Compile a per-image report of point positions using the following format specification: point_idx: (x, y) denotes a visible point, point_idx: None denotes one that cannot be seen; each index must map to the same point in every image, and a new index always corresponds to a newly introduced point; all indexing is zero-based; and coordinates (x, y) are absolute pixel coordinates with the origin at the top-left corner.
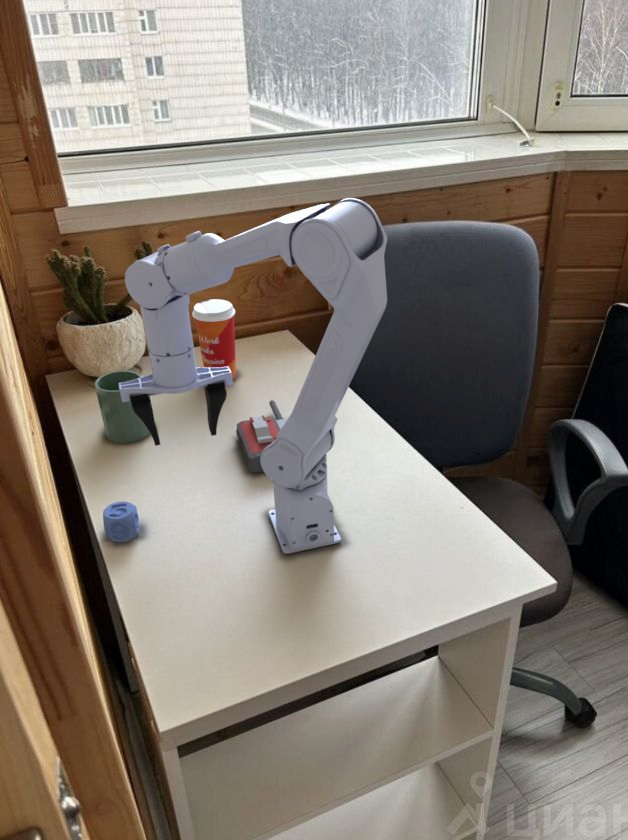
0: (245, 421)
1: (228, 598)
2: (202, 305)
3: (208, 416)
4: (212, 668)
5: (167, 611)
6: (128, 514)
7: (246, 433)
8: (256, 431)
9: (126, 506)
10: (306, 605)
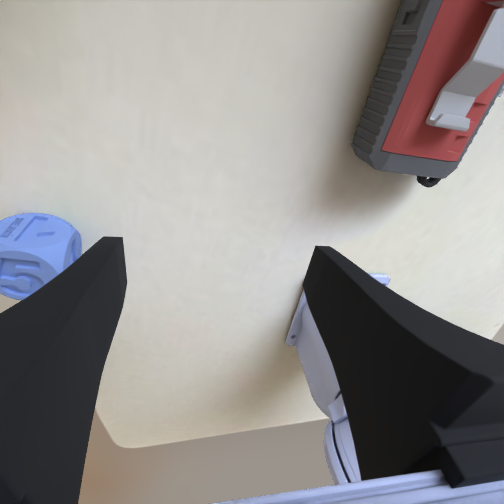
0: None
1: (199, 375)
2: None
3: (337, 289)
4: (164, 424)
5: (126, 377)
6: None
7: (444, 23)
8: (463, 72)
9: (41, 272)
10: (269, 391)
